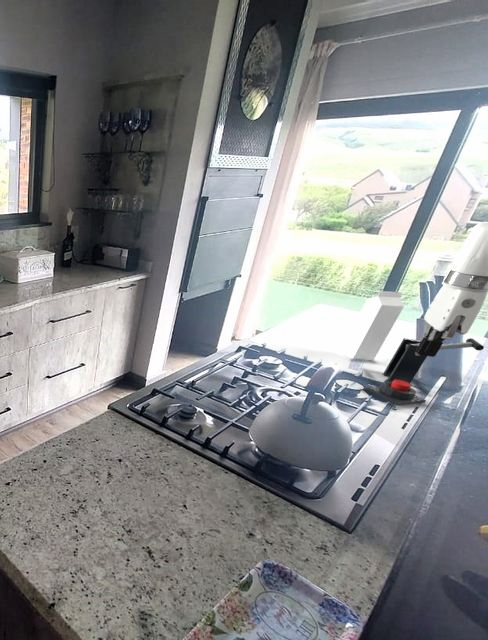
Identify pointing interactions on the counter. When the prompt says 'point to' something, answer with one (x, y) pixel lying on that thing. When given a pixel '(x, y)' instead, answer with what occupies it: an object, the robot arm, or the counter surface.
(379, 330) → the milk
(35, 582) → the counter surface
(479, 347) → the lever
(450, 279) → the robot arm
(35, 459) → the counter surface
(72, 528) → the counter surface
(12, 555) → the counter surface
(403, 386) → the button
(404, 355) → the bracket
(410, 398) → the button box
